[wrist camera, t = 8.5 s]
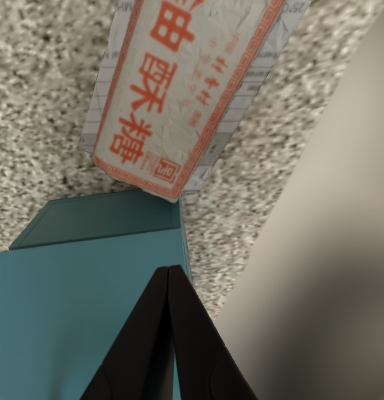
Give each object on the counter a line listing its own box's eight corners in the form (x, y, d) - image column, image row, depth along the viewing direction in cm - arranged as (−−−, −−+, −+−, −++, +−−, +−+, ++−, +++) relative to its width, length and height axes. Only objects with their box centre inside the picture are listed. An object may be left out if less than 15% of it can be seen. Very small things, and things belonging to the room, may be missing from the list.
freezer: (192, 281, 28) (198, 334, 22) (92, 295, 27) (73, 352, 22) (178, 183, 21) (181, 225, 16) (48, 200, 21) (7, 247, 16)
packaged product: (199, 223, 18) (55, 169, 15) (194, 190, 22) (81, 143, 19) (408, -106, 10) (184, -355, 7) (338, -60, 14) (180, -205, 11)
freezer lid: (211, 489, 12) (220, 623, 8) (-18, 523, 12) (-155, 682, 7) (181, 229, 16) (174, 211, 11) (7, 252, 16) (-72, 243, 11)
